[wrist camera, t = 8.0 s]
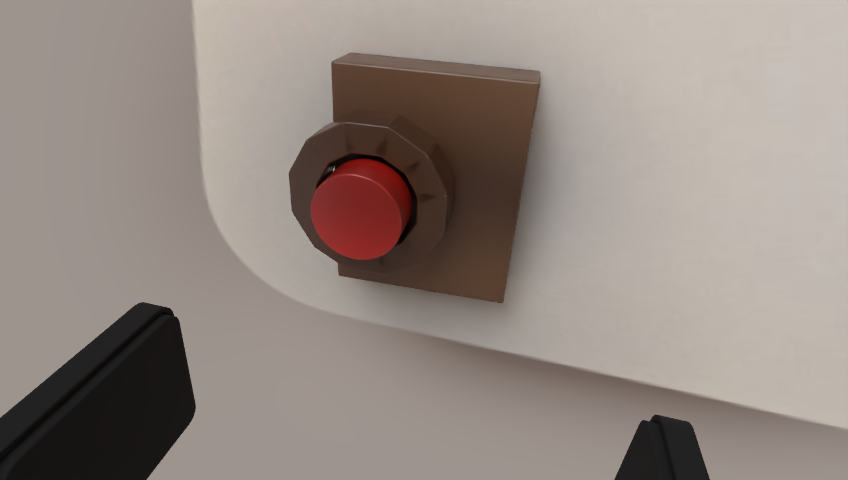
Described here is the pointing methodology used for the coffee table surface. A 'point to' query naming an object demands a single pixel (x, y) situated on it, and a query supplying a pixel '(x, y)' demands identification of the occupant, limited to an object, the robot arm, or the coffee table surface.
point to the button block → (430, 166)
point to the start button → (361, 209)
